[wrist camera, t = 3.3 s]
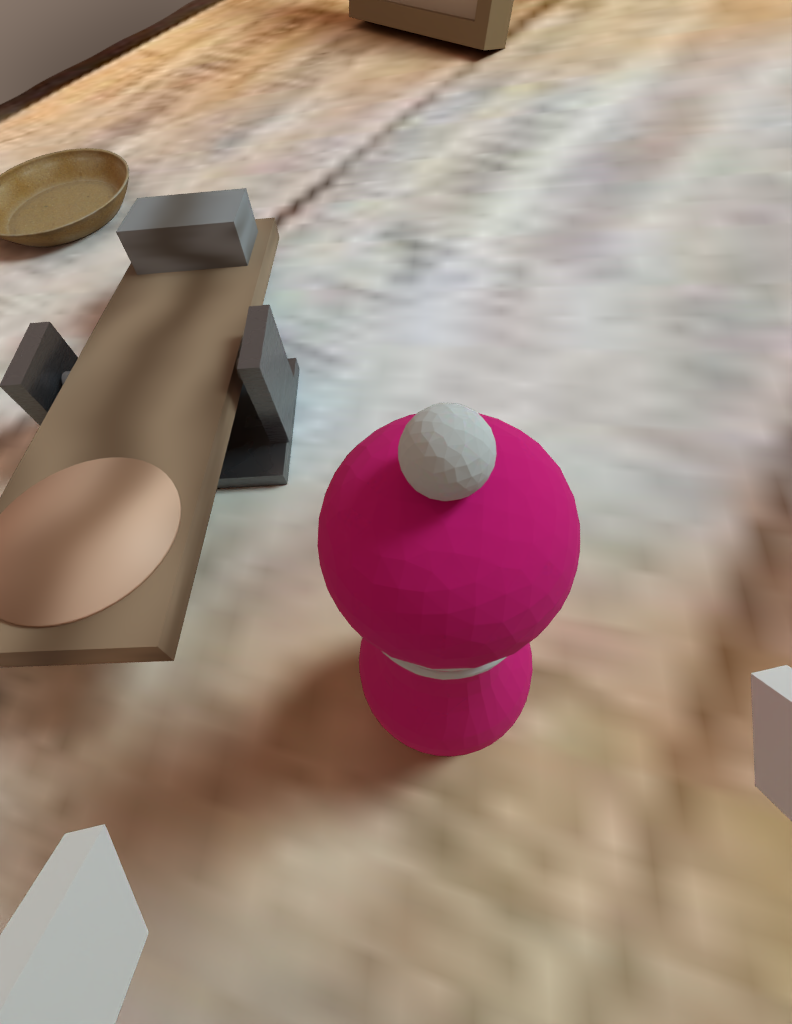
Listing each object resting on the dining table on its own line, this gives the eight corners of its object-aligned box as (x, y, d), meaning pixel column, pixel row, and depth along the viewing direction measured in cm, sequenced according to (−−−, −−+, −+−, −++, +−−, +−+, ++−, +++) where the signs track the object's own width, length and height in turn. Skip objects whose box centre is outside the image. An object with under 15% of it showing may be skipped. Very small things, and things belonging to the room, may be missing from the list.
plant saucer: (-41, 259, 49) (-64, 233, 47) (37, 174, 56) (20, 147, 54) (102, 265, 47) (85, 236, 45) (164, 175, 54) (152, 147, 52)
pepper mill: (357, 749, 25) (164, 589, 8) (386, 605, 28) (300, 273, 11) (512, 780, 24) (700, 675, 6) (523, 626, 27) (663, 291, 10)
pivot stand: (302, 368, 38) (273, 277, 31) (290, 484, 33) (253, 403, 26) (109, 381, 39) (44, 295, 32) (68, 496, 34) (-19, 421, 27)
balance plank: (286, 236, 42) (271, 174, 38) (188, 660, 21) (135, 611, 18) (151, 248, 43) (124, 188, 39) (-73, 670, 22) (-175, 625, 18)
